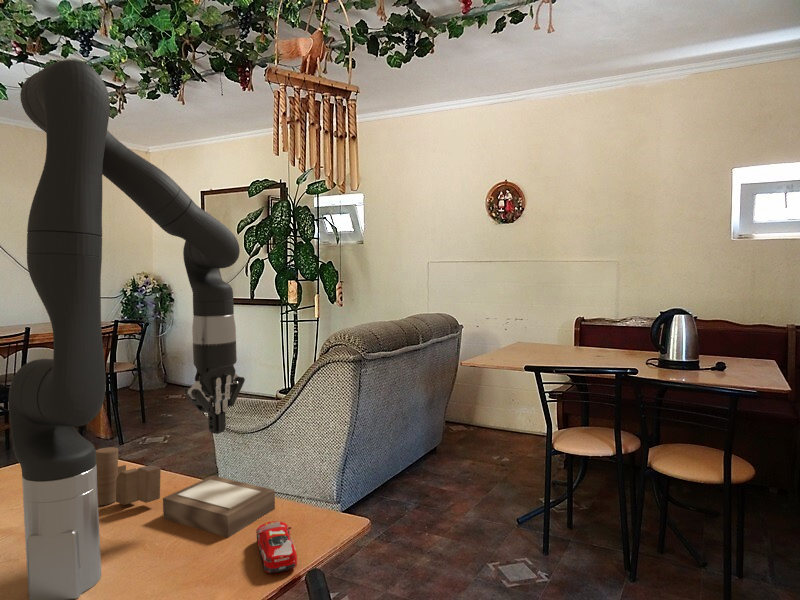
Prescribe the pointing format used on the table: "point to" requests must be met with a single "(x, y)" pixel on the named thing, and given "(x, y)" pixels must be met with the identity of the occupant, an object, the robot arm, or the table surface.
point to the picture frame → (219, 505)
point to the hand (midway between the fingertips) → (217, 432)
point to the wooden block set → (124, 480)
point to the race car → (276, 547)
